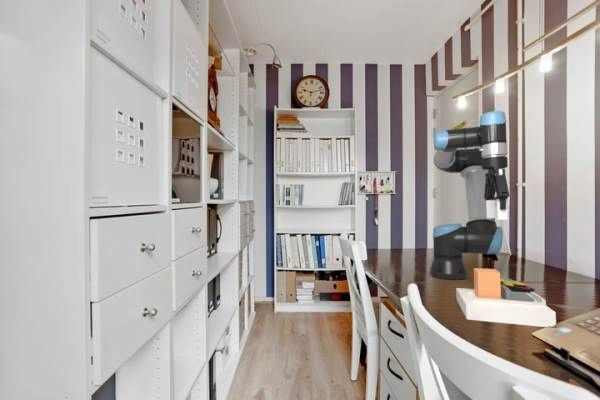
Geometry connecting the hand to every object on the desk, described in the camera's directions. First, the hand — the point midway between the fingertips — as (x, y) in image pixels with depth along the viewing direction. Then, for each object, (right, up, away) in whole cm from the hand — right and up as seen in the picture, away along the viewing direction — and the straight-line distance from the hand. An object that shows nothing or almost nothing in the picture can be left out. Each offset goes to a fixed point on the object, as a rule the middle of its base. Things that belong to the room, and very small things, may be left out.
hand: (496, 219), depth 101 cm
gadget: (+6, -27, +2) cm, 28 cm away
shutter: (-5, -22, -16) cm, 28 cm away
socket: (-9, -26, -14) cm, 31 cm away
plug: (-11, -27, -13) cm, 32 cm away
